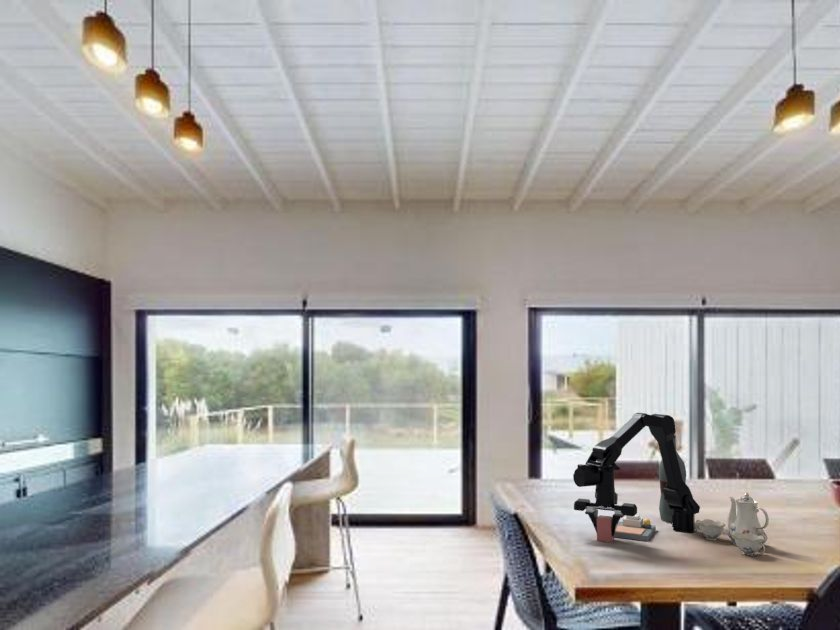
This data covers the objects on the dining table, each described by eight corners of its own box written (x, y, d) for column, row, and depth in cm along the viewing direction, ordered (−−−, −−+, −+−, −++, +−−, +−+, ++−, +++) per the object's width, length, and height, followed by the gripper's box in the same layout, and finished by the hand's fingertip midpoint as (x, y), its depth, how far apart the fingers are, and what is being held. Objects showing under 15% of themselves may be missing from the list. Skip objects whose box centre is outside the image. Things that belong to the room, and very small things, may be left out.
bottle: (660, 522, 242) (659, 436, 244) (658, 516, 250) (656, 433, 252) (689, 524, 239) (687, 437, 241) (685, 518, 248) (684, 434, 250)
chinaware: (687, 541, 223) (681, 490, 223) (728, 532, 228) (723, 482, 229) (754, 566, 196) (747, 507, 197) (799, 555, 201) (793, 498, 202)
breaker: (639, 523, 231) (639, 514, 231) (637, 526, 227) (637, 516, 228) (628, 522, 232) (628, 513, 232) (626, 524, 229) (626, 515, 229)
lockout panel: (655, 530, 231) (655, 516, 231) (647, 541, 216) (647, 526, 217) (616, 525, 237) (615, 512, 237) (605, 535, 222) (605, 522, 223)
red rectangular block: (614, 539, 218) (613, 516, 219) (611, 542, 215) (610, 519, 215) (600, 537, 220) (599, 515, 221) (596, 540, 217) (596, 517, 217)
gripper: (639, 483, 221) (640, 532, 220) (582, 478, 230) (582, 526, 229) (633, 489, 212) (634, 540, 211) (573, 483, 220) (573, 533, 219)
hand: (605, 534), depth 218 cm, fingers closed on red rectangular block, 4 cm apart
